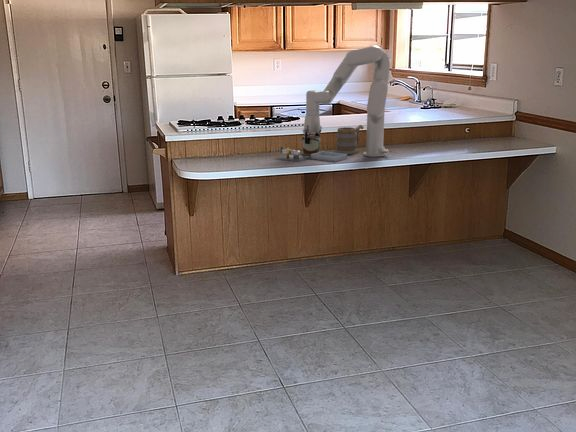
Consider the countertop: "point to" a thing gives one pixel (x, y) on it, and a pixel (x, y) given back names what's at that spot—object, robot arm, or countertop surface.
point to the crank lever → (290, 152)
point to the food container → (311, 145)
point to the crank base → (297, 159)
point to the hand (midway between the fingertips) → (312, 142)
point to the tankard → (348, 140)
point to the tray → (329, 156)
